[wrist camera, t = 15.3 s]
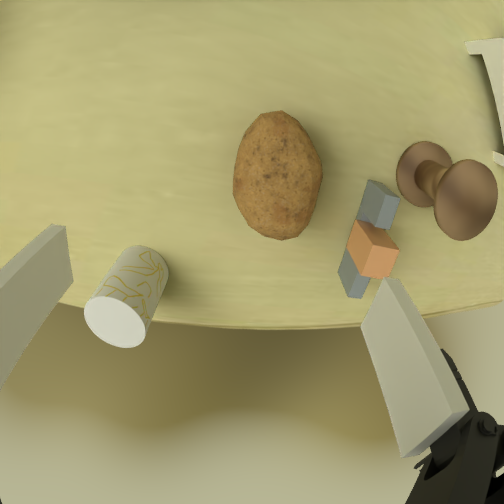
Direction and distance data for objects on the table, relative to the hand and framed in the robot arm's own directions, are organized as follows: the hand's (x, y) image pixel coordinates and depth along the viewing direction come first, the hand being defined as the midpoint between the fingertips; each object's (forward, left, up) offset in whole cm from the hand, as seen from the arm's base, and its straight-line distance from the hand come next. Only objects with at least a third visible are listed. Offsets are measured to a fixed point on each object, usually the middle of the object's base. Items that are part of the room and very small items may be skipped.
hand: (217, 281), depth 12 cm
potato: (+1, +4, -27) cm, 27 cm away
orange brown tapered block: (+7, +17, -25) cm, 31 cm away
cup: (+19, -12, -27) cm, 35 cm away
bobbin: (-3, +24, -27) cm, 36 cm away
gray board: (+7, +17, -27) cm, 32 cm away
